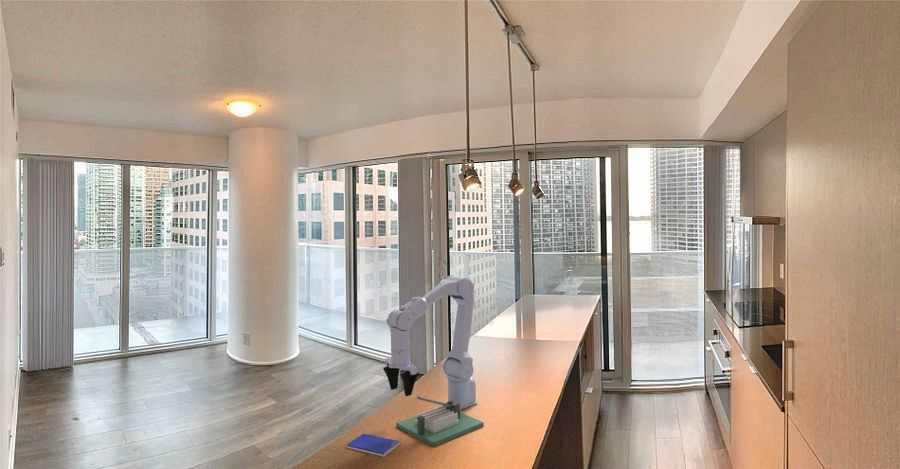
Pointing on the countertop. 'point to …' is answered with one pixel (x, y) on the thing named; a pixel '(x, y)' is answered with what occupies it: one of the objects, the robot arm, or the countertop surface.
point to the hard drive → (373, 444)
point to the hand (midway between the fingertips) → (401, 392)
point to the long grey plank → (435, 402)
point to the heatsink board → (440, 424)
